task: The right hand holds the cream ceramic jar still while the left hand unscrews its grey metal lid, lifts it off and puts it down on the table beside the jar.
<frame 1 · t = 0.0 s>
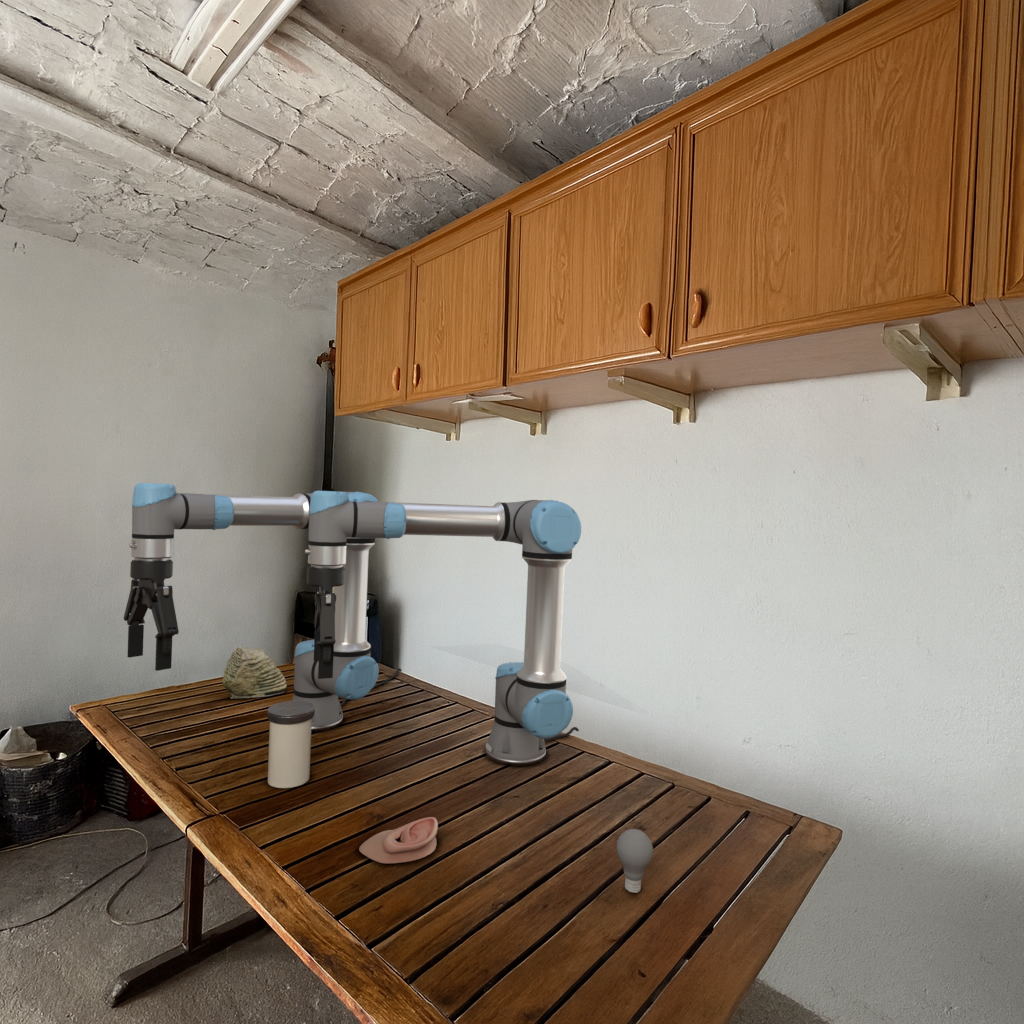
left hand: (148, 662, 129), 28 cm above the table, tool pointing down, fingers open, 13 cm apart
right hand: (322, 668, 130), 28 cm above the table, tool pointing down, fingers open, 13 cm apart
light bulb: (632, 891, 106), on the table
fossil: (254, 694, 198), on the table
anatomical model: (398, 848, 116), on the table
lid: (291, 709, 141), point 16 cm above the table, screwed on, not yet turned
jar: (288, 779, 141), on the table
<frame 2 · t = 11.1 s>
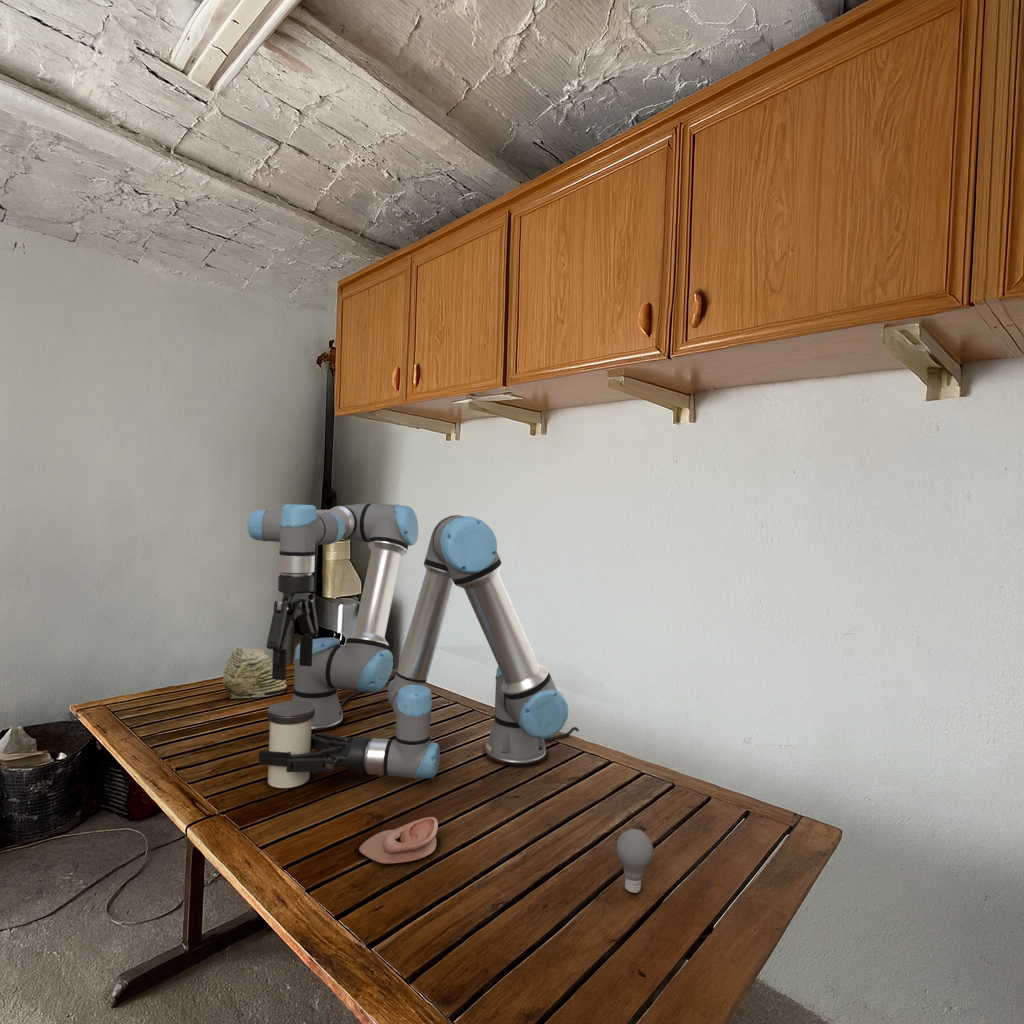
left hand: (292, 672, 141), 24 cm above the table, tool pointing down, fingers open, 11 cm apart
right hand: (270, 748, 142), 7 cm above the table, tool horizontal, fingers closed on jar, 9 cm apart
jar: (288, 779, 141), on the table, touching right hand
everything else where it was.
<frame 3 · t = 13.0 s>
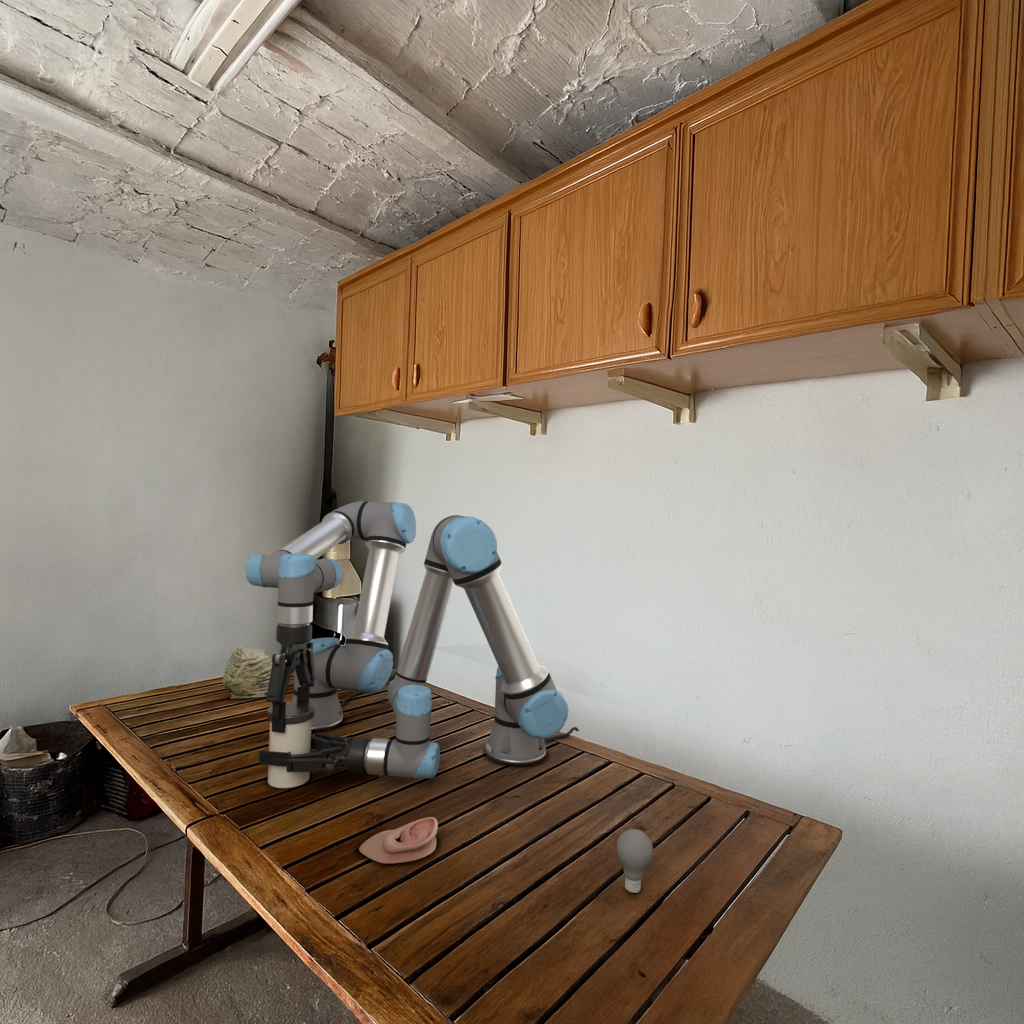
left hand: (290, 723, 141), 13 cm above the table, tool pointing down, fingers closed on lid, 10 cm apart
right hand: (270, 748, 142), 6 cm above the table, tool horizontal, fingers closed on jar, 9 cm apart
lid: (291, 709, 141), point 16 cm above the table, screwed on, not yet turned, touching left hand
jar: (288, 779, 141), on the table, touching right hand
everything else where it was.
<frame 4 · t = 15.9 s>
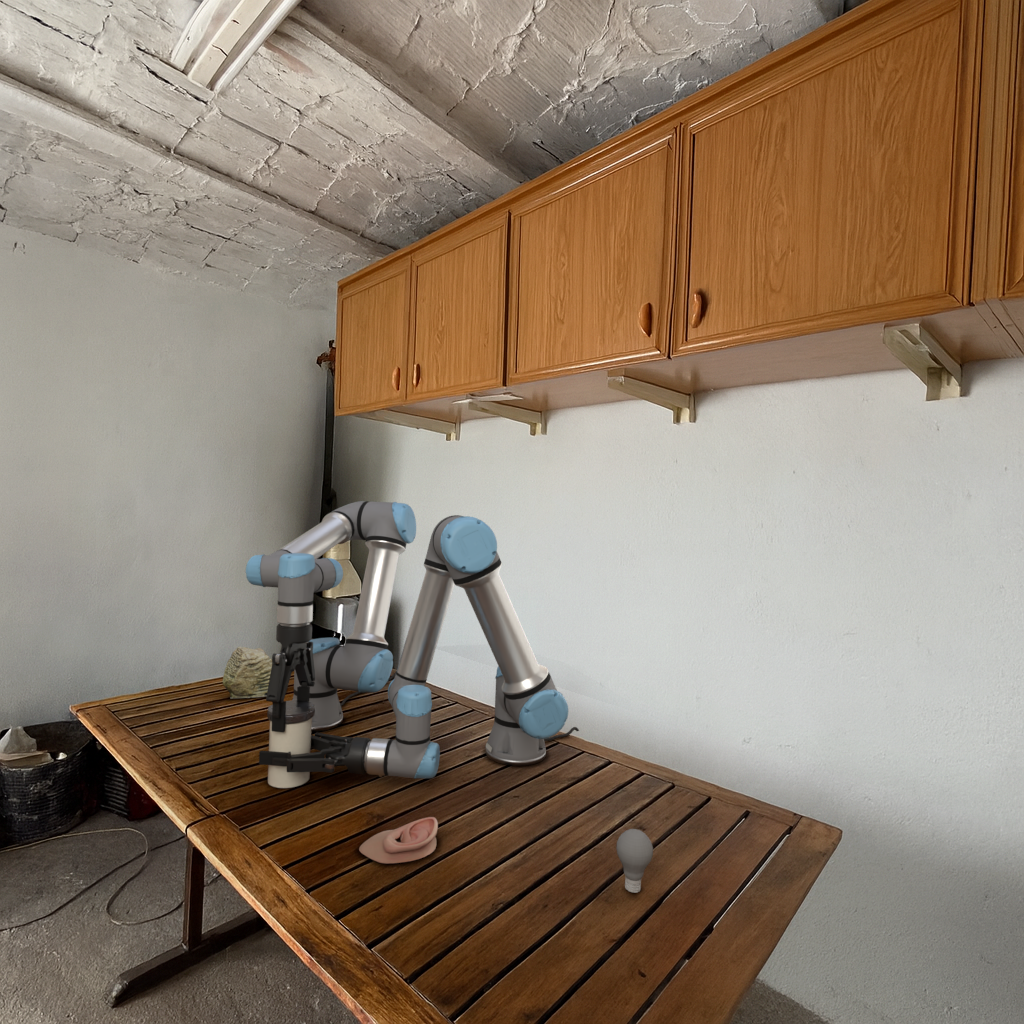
left hand: (290, 722, 141), 13 cm above the table, tool pointing down, fingers closed on lid, 10 cm apart
right hand: (270, 748, 142), 6 cm above the table, tool horizontal, fingers closed on jar, 9 cm apart
lid: (291, 708, 141), point 16 cm above the table, turned 64° so far, risen 0.1 cm, still on its thread, touching left hand
jar: (288, 779, 141), on the table, touching right hand
everything else where it was.
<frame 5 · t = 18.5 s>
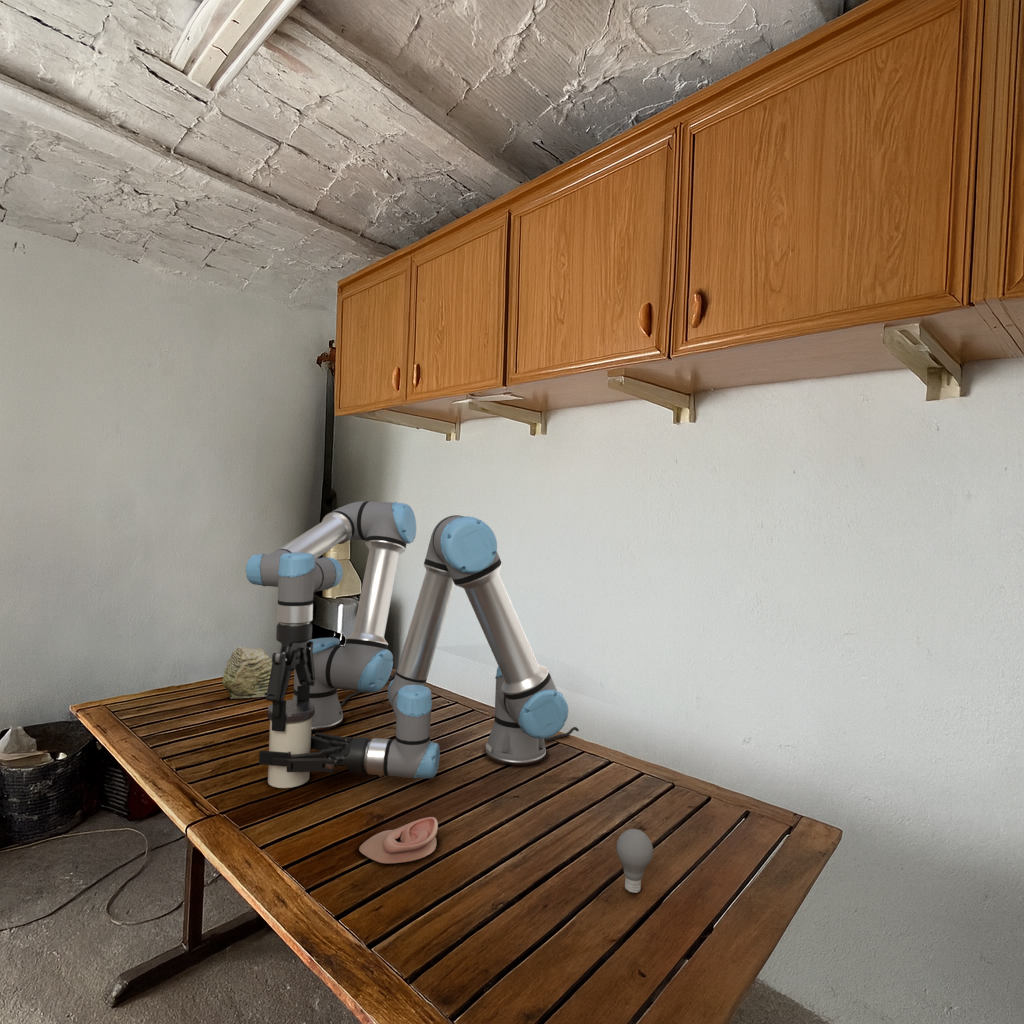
left hand: (290, 722, 141), 13 cm above the table, tool pointing down, fingers closed on lid, 10 cm apart
right hand: (270, 748, 142), 6 cm above the table, tool horizontal, fingers closed on jar, 9 cm apart
lid: (291, 708, 141), point 16 cm above the table, turned 129° so far, risen 0.3 cm, still on its thread, touching left hand
jar: (288, 779, 141), on the table, touching right hand
everything else where it was.
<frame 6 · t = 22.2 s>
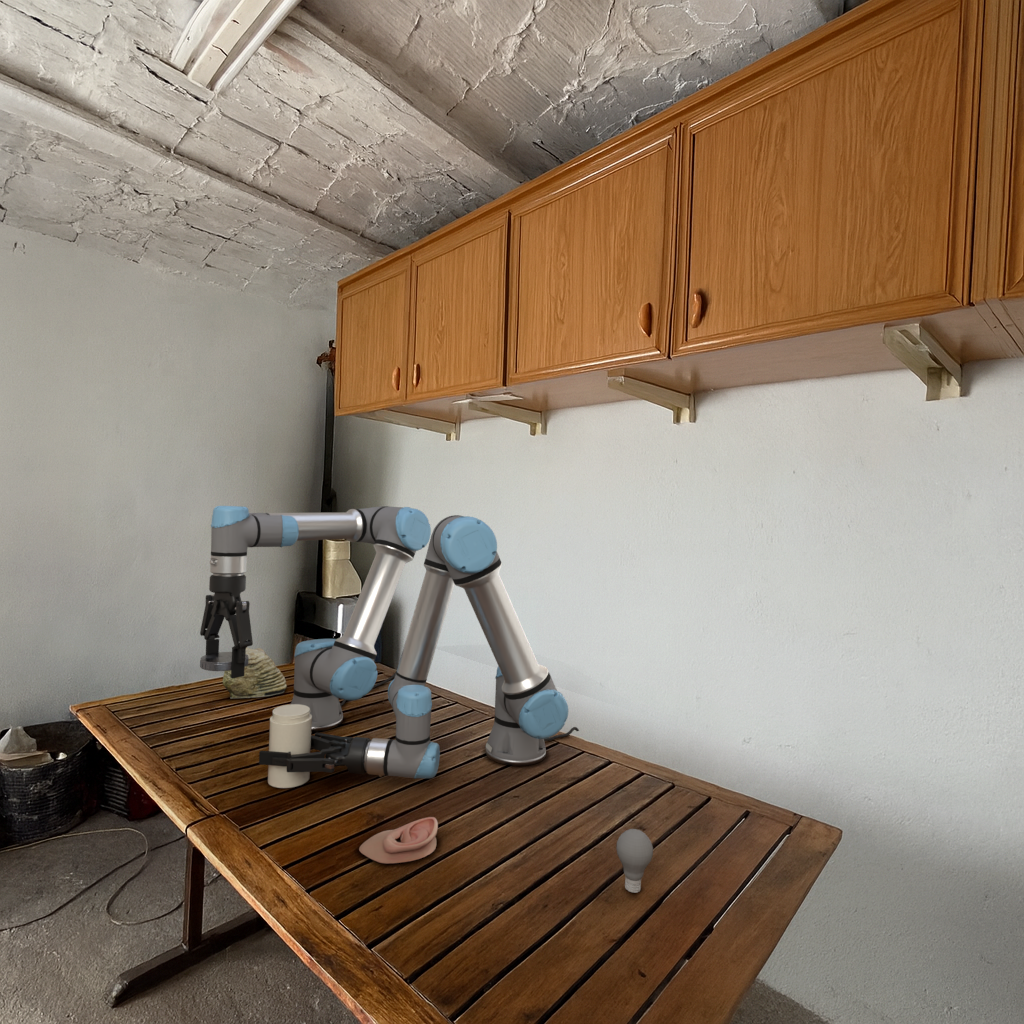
left hand: (224, 672, 143), 23 cm above the table, tool pointing down, fingers closed on lid, 10 cm apart
right hand: (270, 748, 142), 6 cm above the table, tool horizontal, fingers closed on jar, 9 cm apart
lid: (224, 658, 143), point 26 cm above the table, off its thread, touching left hand
jar: (288, 779, 141), on the table, touching right hand
everything else where it was.
when the left hand's fingers open (0 cm above the table, at t = 26.0 s): lid drops 2 cm, point 2 cm above the table.
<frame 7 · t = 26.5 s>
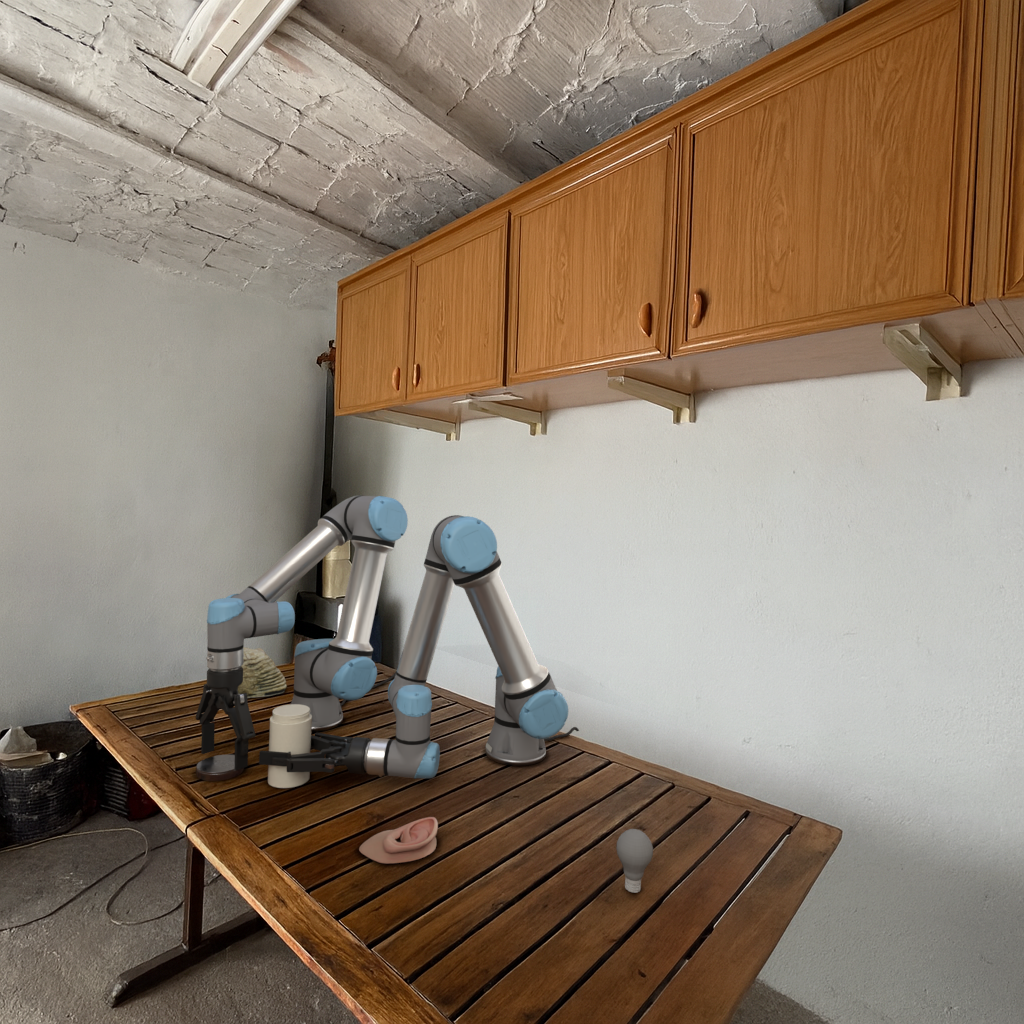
left hand: (224, 760, 144), 2 cm above the table, tool pointing down, fingers open, 13 cm apart
right hand: (270, 748, 142), 6 cm above the table, tool horizontal, fingers closed on jar, 9 cm apart
lid: (220, 764, 144), point 2 cm above the table, off its thread
jar: (288, 779, 141), on the table, touching right hand
everything else where it was.
when the right hand's fingers open (6 cm above the table, at t = 27.0 s): jar stays where it is, on the table.
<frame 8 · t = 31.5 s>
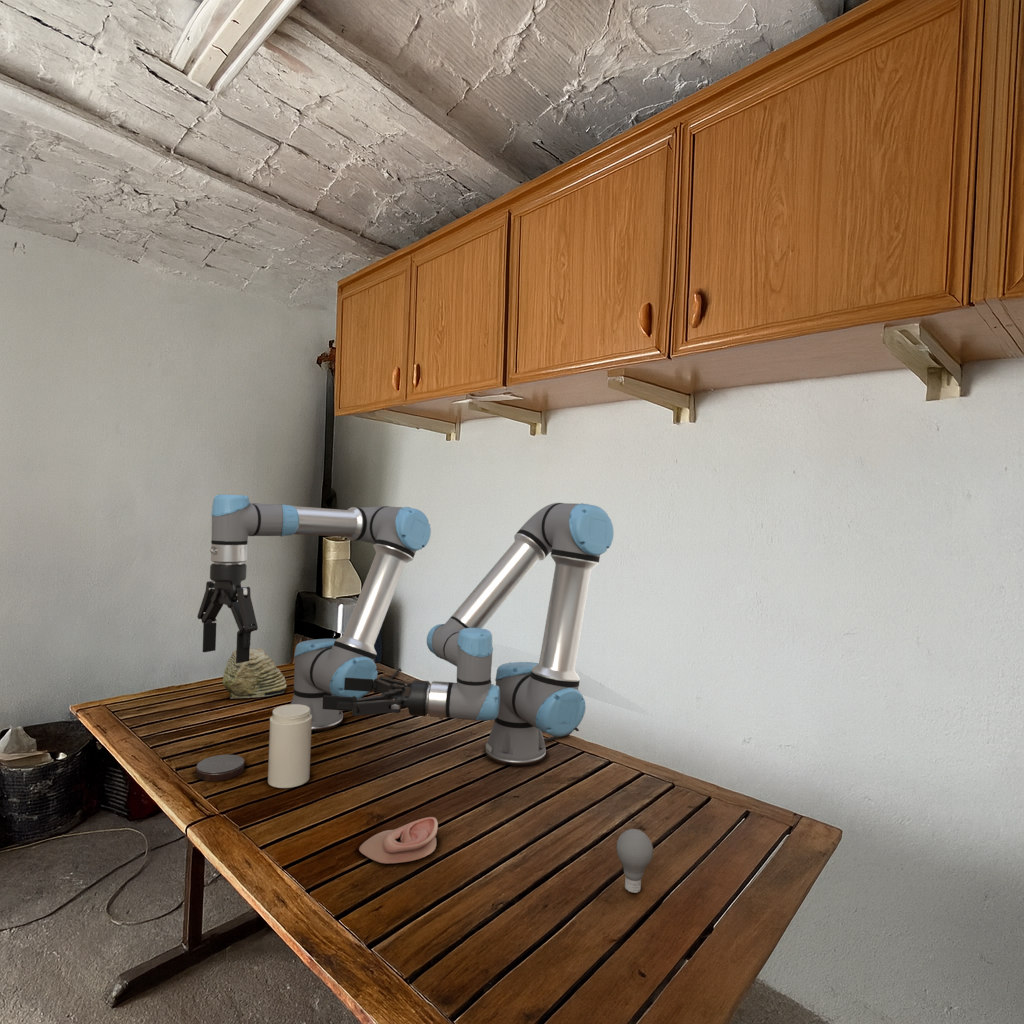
left hand: (225, 656, 143), 26 cm above the table, tool pointing down, fingers open, 13 cm apart
right hand: (334, 692, 140), 20 cm above the table, tool horizontal, fingers open, 13 cm apart
jar: (288, 779, 141), on the table
everything else where it was.
at the end: lid came off its thread; lid point 1.6 cm above the table; the left hand is holding nothing; the right hand is holding nothing; jar tilted 0°; jar moved 0.0 cm from its start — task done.
